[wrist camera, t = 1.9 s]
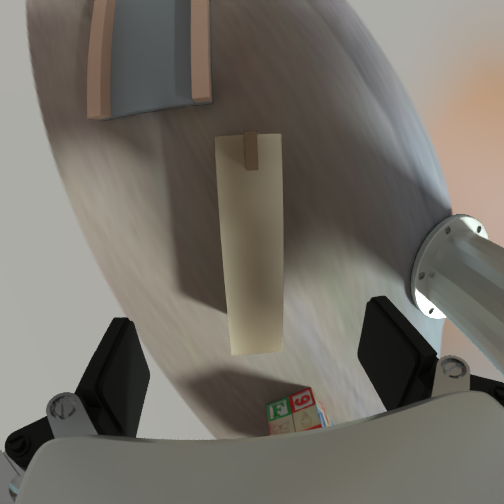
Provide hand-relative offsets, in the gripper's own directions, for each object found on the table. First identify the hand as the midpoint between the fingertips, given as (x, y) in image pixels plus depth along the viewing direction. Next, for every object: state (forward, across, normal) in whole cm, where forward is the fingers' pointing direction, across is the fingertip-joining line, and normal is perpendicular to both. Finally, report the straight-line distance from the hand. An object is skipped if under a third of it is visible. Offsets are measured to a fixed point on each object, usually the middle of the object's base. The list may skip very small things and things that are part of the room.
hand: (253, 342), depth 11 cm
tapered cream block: (+15, -1, 0) cm, 15 cm away
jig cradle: (+15, +6, -21) cm, 26 cm away
